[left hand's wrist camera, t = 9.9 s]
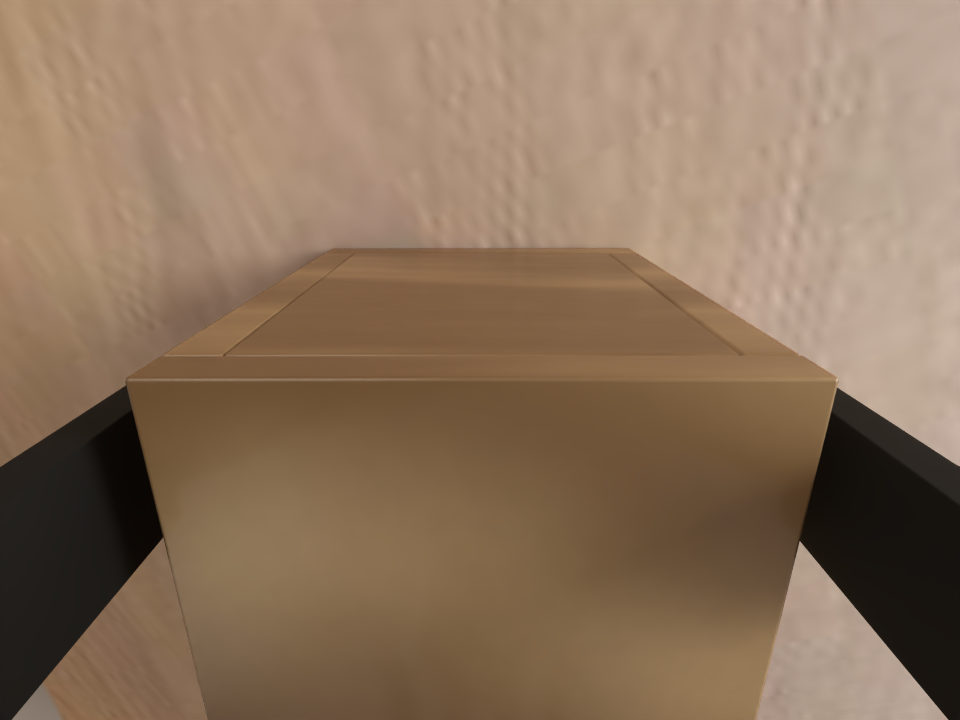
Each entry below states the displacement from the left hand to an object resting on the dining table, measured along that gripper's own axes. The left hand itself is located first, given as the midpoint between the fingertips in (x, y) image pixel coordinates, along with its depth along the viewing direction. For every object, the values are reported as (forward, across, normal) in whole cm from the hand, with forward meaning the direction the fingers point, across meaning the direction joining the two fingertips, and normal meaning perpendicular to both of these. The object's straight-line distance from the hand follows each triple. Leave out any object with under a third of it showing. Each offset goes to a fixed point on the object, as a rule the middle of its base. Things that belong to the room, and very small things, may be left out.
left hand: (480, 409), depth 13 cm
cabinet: (+7, 0, -6) cm, 9 cm away
